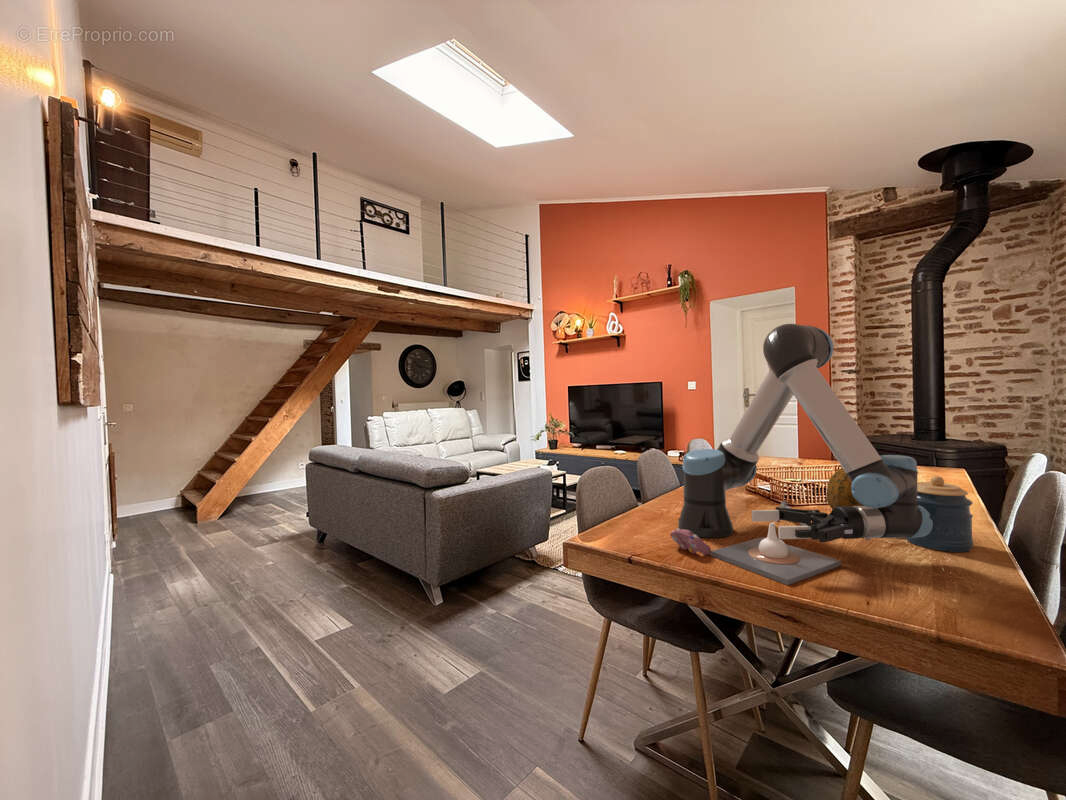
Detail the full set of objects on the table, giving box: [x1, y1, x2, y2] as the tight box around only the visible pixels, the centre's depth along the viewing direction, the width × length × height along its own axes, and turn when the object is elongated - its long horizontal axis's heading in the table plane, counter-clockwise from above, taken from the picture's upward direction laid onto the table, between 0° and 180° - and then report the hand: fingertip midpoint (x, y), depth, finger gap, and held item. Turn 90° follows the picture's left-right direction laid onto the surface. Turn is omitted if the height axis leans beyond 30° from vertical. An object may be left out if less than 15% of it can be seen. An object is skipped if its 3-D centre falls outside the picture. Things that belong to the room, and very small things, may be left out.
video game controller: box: [670, 527, 712, 556], centre depth 116 cm, size 10×5×7 cm, turn 25°
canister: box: [906, 475, 974, 553], centre depth 115 cm, size 13×13×18 cm
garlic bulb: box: [759, 521, 788, 558], centre depth 108 cm, size 6×6×8 cm
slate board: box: [710, 536, 842, 586], centre depth 108 cm, size 20×20×1 cm
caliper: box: [779, 499, 811, 530], centre depth 132 cm, size 20×1×6 cm, turn 0°
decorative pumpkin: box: [826, 467, 864, 510], centre depth 135 cm, size 20×21×20 cm
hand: (764, 523), depth 108 cm, fingers open, 13 cm apart
